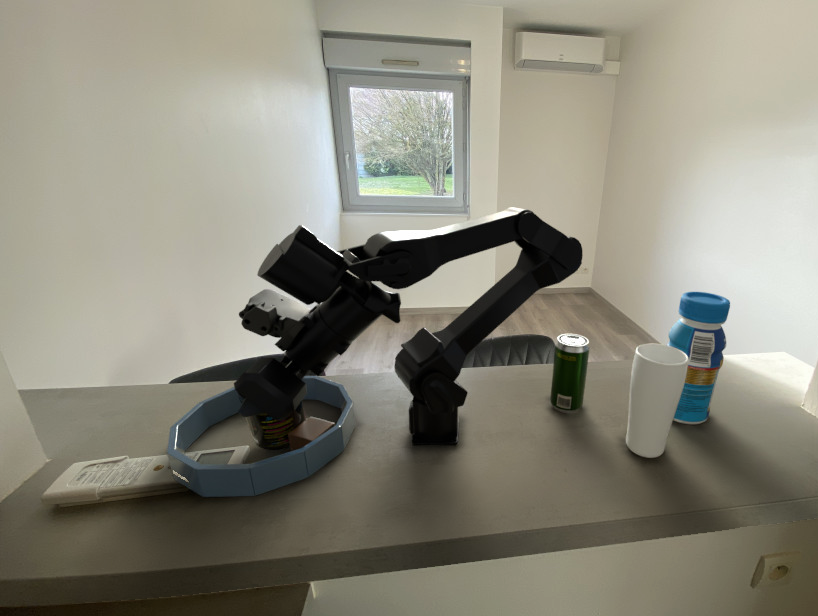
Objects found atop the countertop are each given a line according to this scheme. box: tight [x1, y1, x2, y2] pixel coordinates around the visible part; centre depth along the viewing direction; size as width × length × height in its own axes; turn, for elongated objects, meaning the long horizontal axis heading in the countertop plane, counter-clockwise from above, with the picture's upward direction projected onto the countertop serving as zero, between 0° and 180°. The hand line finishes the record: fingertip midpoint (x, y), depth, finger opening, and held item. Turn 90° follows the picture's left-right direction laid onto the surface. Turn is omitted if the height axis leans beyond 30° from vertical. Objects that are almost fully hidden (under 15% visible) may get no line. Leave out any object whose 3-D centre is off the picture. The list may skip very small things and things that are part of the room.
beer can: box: [549, 333, 590, 414], centre depth 66 cm, size 5×5×12 cm
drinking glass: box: [625, 342, 689, 459], centre depth 56 cm, size 7×7×15 cm
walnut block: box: [288, 416, 336, 452], centre depth 54 cm, size 4×4×4 cm
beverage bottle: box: [666, 291, 731, 425], centre depth 64 cm, size 8×8×20 cm
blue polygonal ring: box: [166, 375, 356, 498], centre depth 57 cm, size 22×22×4 cm
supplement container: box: [237, 361, 307, 452], centre depth 54 cm, size 7×7×10 cm
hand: (258, 396), depth 52 cm, fingers closed on supplement container, 7 cm apart
